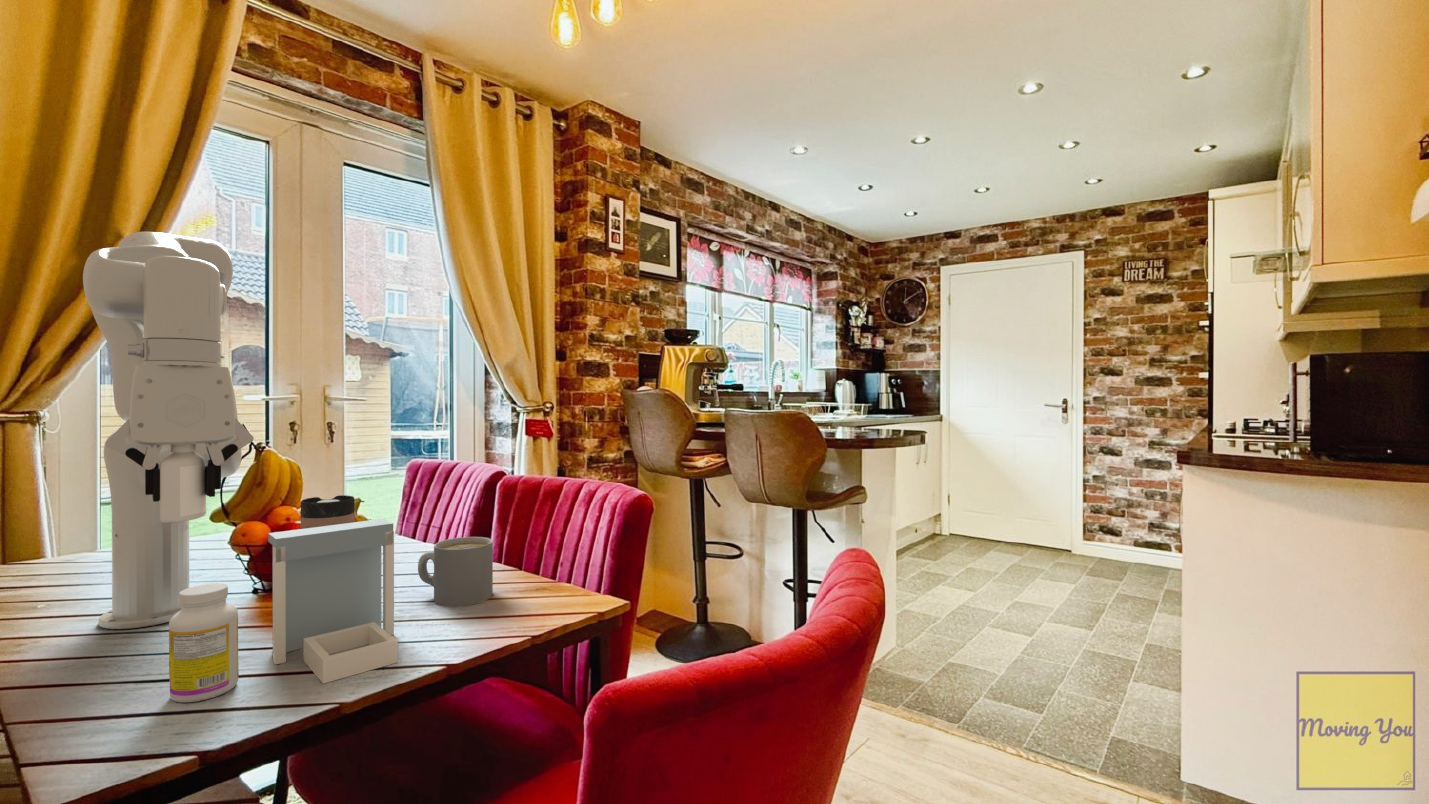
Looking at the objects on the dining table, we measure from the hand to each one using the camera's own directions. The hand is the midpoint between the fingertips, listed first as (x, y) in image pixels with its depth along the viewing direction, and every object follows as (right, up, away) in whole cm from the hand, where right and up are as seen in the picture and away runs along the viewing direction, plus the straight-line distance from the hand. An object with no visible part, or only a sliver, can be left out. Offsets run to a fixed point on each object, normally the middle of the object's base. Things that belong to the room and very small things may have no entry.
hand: (184, 496), depth 80 cm
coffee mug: (+20, -24, +35) cm, 47 cm away
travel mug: (+5, -24, +22) cm, 33 cm away
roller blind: (+11, -24, +12) cm, 29 cm away
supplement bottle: (+5, -24, -2) cm, 25 cm away
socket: (+17, -24, +7) cm, 30 cm away
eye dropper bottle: (0, -3, 0) cm, 3 cm away
